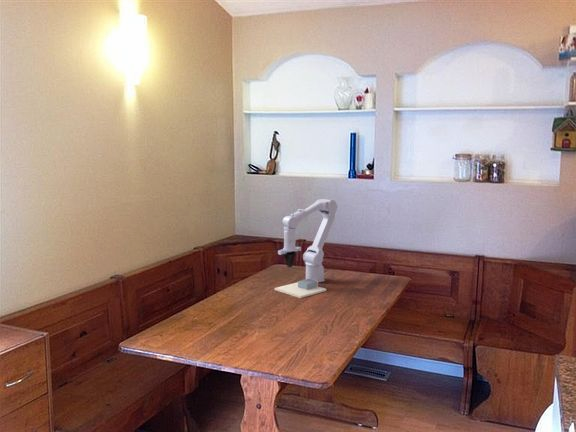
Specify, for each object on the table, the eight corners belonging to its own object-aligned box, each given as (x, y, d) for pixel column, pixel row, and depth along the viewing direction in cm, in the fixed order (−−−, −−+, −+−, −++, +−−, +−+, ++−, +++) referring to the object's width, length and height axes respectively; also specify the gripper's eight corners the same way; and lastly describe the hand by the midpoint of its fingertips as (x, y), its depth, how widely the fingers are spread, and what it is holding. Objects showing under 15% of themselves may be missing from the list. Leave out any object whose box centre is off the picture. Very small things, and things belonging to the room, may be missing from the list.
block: (297, 287, 261) (308, 284, 266) (306, 289, 256) (317, 286, 262) (297, 281, 260) (309, 278, 266) (306, 283, 256) (317, 280, 261)
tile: (300, 283, 271) (300, 281, 271) (326, 290, 259) (326, 288, 258) (274, 290, 259) (274, 288, 259) (300, 298, 246) (300, 296, 246)
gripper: (294, 237, 271) (293, 263, 273) (273, 240, 261) (273, 267, 263) (304, 239, 266) (303, 265, 268) (283, 242, 256) (283, 270, 258)
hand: (289, 266), depth 265 cm, fingers closed
